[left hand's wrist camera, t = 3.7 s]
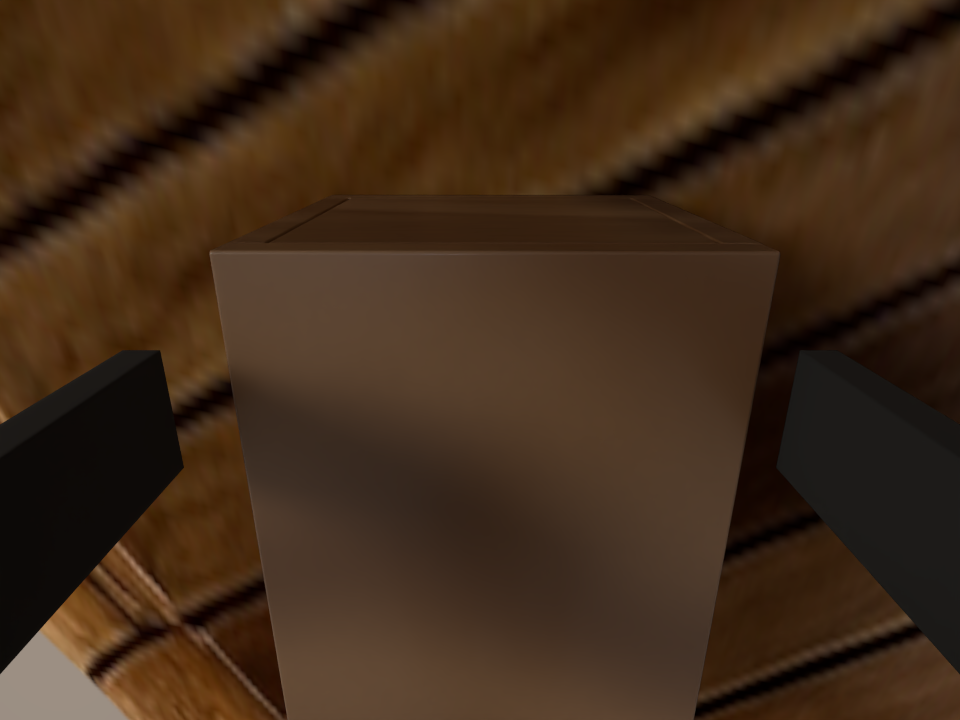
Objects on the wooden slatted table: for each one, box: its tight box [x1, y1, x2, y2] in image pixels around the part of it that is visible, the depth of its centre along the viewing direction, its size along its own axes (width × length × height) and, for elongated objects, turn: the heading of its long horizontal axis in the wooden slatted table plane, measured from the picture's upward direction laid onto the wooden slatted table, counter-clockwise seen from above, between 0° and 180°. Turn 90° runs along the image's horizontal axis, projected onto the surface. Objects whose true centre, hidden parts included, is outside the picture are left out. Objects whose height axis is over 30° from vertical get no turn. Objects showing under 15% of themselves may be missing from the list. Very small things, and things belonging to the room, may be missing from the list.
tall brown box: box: [210, 195, 780, 720], centre depth 19 cm, size 18×11×10 cm, turn 0°
